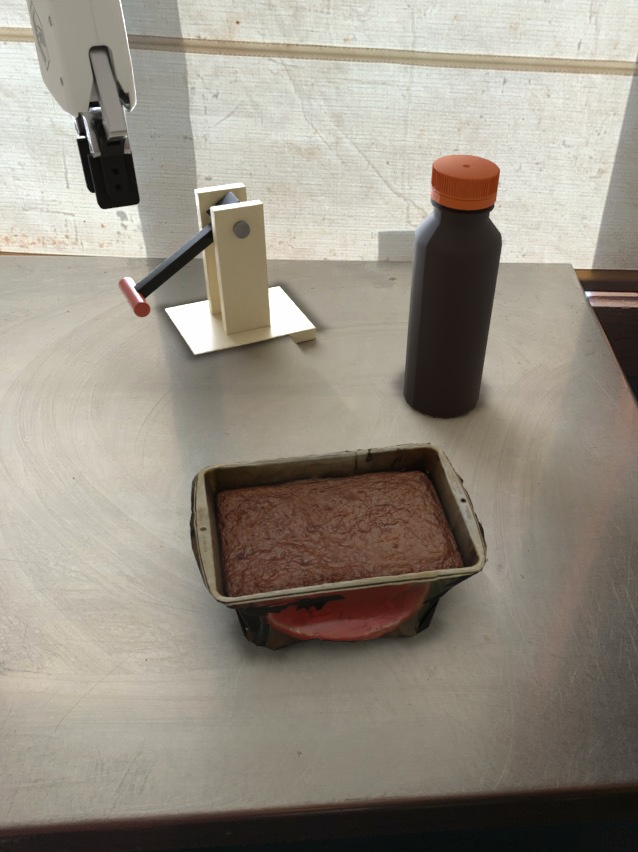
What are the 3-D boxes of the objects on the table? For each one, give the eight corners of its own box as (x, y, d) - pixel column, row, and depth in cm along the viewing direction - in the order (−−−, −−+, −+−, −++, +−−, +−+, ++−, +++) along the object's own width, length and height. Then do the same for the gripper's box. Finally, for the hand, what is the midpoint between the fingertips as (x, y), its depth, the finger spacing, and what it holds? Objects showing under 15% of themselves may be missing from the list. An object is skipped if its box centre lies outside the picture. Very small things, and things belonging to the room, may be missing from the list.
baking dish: (464, 680, 52) (507, 567, 46) (182, 680, 47) (187, 555, 41) (423, 537, 62) (453, 431, 56) (190, 526, 58) (195, 409, 52)
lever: (145, 324, 69) (126, 305, 67) (129, 298, 72) (111, 279, 70) (260, 228, 69) (245, 207, 67) (240, 206, 72) (224, 185, 70)
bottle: (457, 371, 74) (486, 146, 60) (491, 412, 70) (530, 179, 56) (391, 384, 72) (404, 153, 58) (421, 427, 68) (444, 189, 53)
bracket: (196, 366, 72) (176, 227, 63) (166, 319, 77) (143, 186, 68) (316, 338, 77) (313, 206, 68) (280, 296, 82) (273, 168, 73)
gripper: (-27, -113, 54) (43, 167, 67) (19, -71, 44) (91, 247, 57) (86, -112, 57) (132, 157, 70) (152, -72, 47) (192, 231, 60)
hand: (113, 195), depth 63 cm, fingers closed
